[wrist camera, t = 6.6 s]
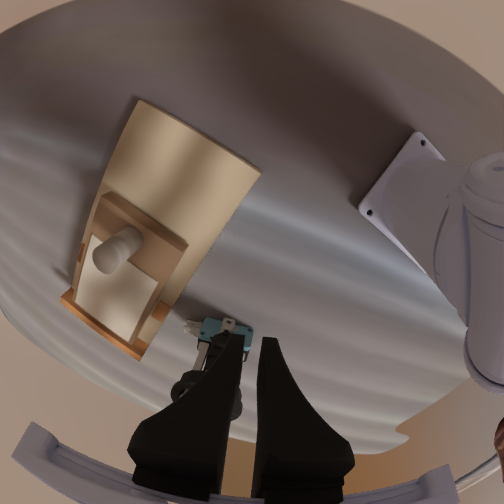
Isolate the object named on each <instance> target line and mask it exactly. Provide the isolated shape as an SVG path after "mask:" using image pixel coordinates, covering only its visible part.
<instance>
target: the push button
mask: <svg viewBox="0 0 504 504" xmlns="http://www.w3.org/2000/svg"><path fill="white" fill-rule="evenodd" d="M227 321H230V322H231V323H228V322H227ZM190 323H193V324H194V325H190ZM187 329H190V330H191V331H188V330H187ZM184 332H186V333H190V334H193V335H194V336H196V337H198V345H197V349H198V350H199V351H200V352H199V354H198V357H197V359H196V362H195V365H194V367H193V370H191V371H188V372H186V373H184V374H183V375H182V378H181V380H180V381H178V382H177V383H175V384H174V386H173V387H172V390H171V398H172V400H173V402H174V401H176V400H177V399H178V398H180V397H181V396H182V395H183V394H184V393H186V392H187V391H188V390H189V389H190V388H191V387H192V386H193V385H194V384H195V383H196V382H197V381H198V380H199V379H200V378H201V377H202V376H203V375H204V374H205V372H206V371H207V370H208V369H209V367H210V366H211V365H212V364H213V362H214V361H215V360H216V358H217V357H218V355H219V354H220V352H221V351H222V349H223V347H224V346H225V344H226V342H227V340H228V338H229V335H230V334H232V333H234V334H242V335H245V343H244V353H243V362H245V361H246V360H247V356H248V353H249V350H250V346H251V341H252V336H253V329H252V328H250V327H244V326H240V325H236V324H235V320H234V319H230V318H224V320H223V321H221V320H217V319H213V318H209V317H207V318H205V320H204V322H203V323H202V322H199V321H198V322H195V321H191V320H187V326H184ZM207 353H208V354H207ZM206 356H207V358H206ZM205 359H206V364H205V367H204V370H203V371H201V370H202V367H203V365H204V362H205ZM241 397H242V395H241V391H240V388H239V389H238V393H237V397H236V402H235V406H234V410H233V414H232V418H231V421H233V420H235V419H237V418H238V417H239V416H240V415H241V413H242V407H243V406H242V402H241Z"/></svg>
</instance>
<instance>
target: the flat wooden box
mask: <svg viewBox="0 0 504 504" xmlns="http://www.w3.org/2000/svg"><path fill="white" fill-rule="evenodd" d="M261 173H262V172H261V171H260V170H259V169H257V168H256V167H254V166H253V165H251V164H250V163H248V162H247V161H245V160H244V159H242V158H241V157H239V156H237V155H236V154H234V153H233V152H231V151H230V150H228V149H227V148H225V147H224V146H222V145H220V144H219V143H217V142H216V141H214V140H212V139H211V138H209V137H208V136H206V135H204V134H203V133H201V132H199V131H198V130H196V129H194V128H193V127H191V126H189V125H188V124H186V123H184V122H182V121H181V120H179V119H177V118H176V117H174V116H172V115H170V114H169V113H167V112H165V111H163V110H161V109H160V108H158V107H156V106H154V105H152V104H151V103H149V102H147V101H144V100H139V101H138V103H137V105H136V107H135V108H134V110H133V112H132V114H131V116H130V118H129V120H128V122H127V124H126V126H125V128H124V130H123V132H122V134H121V136H120V138H119V141H118V143H117V145H116V147H115V149H114V152H113V154H112V156H111V159H110V161H109V163H108V166H107V168H106V171H105V173H104V176H103V178H102V181H101V184H100V186H99V189H98V192H97V195H96V198H95V200H94V203H93V206H92V209H91V212H90V216H89V219H88V222H87V225H86V229H85V232H84V236H83V239H82V243H81V247H80V251H79V255H78V259H77V263H76V267H75V272H74V276H73V281H72V286H71V288H70V289H69V290H68V291H66V292H65V293H64V294H63V295H62V296H61V300H60V302H61V303H62V304H63V305H64V306H65V307H66V308H68V309H69V310H70V311H71V312H72V313H74V314H75V315H76V316H77V317H78V318H80V319H81V320H82V321H83V322H85V323H86V324H87V325H88V326H90V327H91V328H92V329H94V330H95V331H96V332H98V333H99V334H100V335H102V336H103V337H104V338H106V339H107V340H108V341H110V342H111V343H113V344H114V345H115V346H117V347H118V348H120V349H121V350H123V351H124V352H126V353H127V354H129V355H130V356H132V357H133V358H135V359H136V360H138V361H139V362H140V360H141V358H142V356H143V355H144V353H145V351H146V350H147V348H148V346H149V345H150V343H151V341H152V340H153V338H154V336H155V335H156V333H157V331H158V330H159V328H160V326H161V325H162V323H163V322H164V320H165V318H166V317H167V315H168V313H169V312H170V310H171V309H172V307H173V305H174V304H175V302H176V301H177V299H178V297H179V296H180V294H181V293H182V291H183V289H184V288H185V286H186V285H187V283H188V282H189V280H190V278H191V277H192V275H193V274H194V272H195V271H196V269H197V268H198V266H199V264H200V263H201V261H202V260H203V258H204V257H205V255H206V254H207V252H208V251H209V249H210V248H211V246H212V245H213V243H214V242H215V240H216V239H217V237H218V236H219V234H220V233H221V231H222V230H223V228H224V227H225V225H226V224H227V222H228V221H229V219H230V218H231V216H232V215H233V213H234V212H235V210H236V209H237V208H238V206H239V205H240V203H241V202H242V200H243V199H244V197H245V196H246V194H247V193H248V192H249V190H250V189H251V187H252V186H253V184H254V183H255V182H256V180H257V179H258V177H259V176H260V175H261ZM110 191H112V192H114V193H115V194H117V195H118V196H119V197H121V198H122V199H124V200H125V201H126V202H128V203H129V204H131V205H132V206H134V207H135V208H136V209H138V210H139V211H141V212H142V213H144V214H145V215H146V216H148V217H149V218H151V219H152V220H154V221H155V222H157V223H158V224H159V225H161V226H162V227H164V228H165V229H167V230H168V231H170V232H171V233H173V234H174V235H175V236H177V237H178V238H180V239H181V240H183V241H184V242H186V243H187V244H189V246H188V248H187V249H186V251H185V253H184V254H183V256H182V258H181V259H180V261H179V263H178V265H177V266H176V268H175V270H174V272H173V273H172V275H171V277H170V278H169V280H168V282H167V284H166V286H165V287H164V289H163V291H162V293H161V294H160V296H159V298H158V300H157V302H156V303H155V305H154V307H153V309H152V311H151V313H150V315H149V316H148V318H147V320H146V322H145V324H144V326H143V328H142V330H141V331H140V333H139V335H138V337H137V339H136V340H135V342H134V343H133V345H132V346H131V345H130V344H128V343H127V342H125V341H124V340H123V339H121V338H120V337H118V336H117V335H115V334H114V333H113V332H111V331H110V330H109V329H107V328H106V327H104V326H103V325H102V324H100V323H99V322H98V321H96V320H95V319H94V318H93V317H91V316H90V315H89V314H88V313H86V312H85V311H84V310H83V309H81V308H80V307H79V306H78V305H76V304H75V303H74V302H73V301H72V299H73V294H74V289H75V284H76V280H77V275H78V271H79V267H80V262H81V258H82V255H83V251H84V247H85V244H86V240H87V237H88V233H89V230H90V227H91V223H92V220H93V217H94V214H95V211H96V208H97V205H98V202H99V200H100V197H101V195H103V194H105V193H108V192H110Z"/></svg>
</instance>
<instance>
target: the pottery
mask: <svg viewBox="0 0 504 504" xmlns="http://www.w3.org/2000/svg"><path fill="white" fill-rule="evenodd" d="M494 445H495V449H496V452H497V454H498V457H499V460H500V464H501V469H502V477H503V483H504V418H503V419H502V420H501V421H500V423H499V425H498V428H497V430H496V433H495V438H494Z"/></svg>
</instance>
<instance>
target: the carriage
mask: <svg viewBox="0 0 504 504" xmlns="http://www.w3.org/2000/svg"><path fill="white" fill-rule="evenodd" d="M188 246H189V244H187V243H186V242H184V241H183V240H181V239H180V238H178V237H177V236H175V235H174V234H173V233H171V232H170V231H168V230H167V229H165V228H164V227H162V226H161V225H159V224H158V223H157V222H155V221H154V220H152V219H151V218H149V217H148V216H146V215H145V214H144V213H142V212H141V211H139V210H138V209H136V208H135V207H134V206H132V205H131V204H129V203H128V202H126V201H125V200H124V199H122V198H121V197H119V196H118V195H117V194H115V193H114V192H112V191H110V192H108V193H105V194H103V195H101V197H100V200H99V202H98V205H97V208H96V211H95V214H94V217H93V220H92V223H91V227H90V230H89V233H88V237H87V240H86V244H85V247H84V251H83V255H82V258H81V262H80V267H79V271H78V275H77V280H76V284H75V289H74V294H73V299H72V301H73V302H74V303H75V304H76V305H78V306H79V307H80V308H81V309H83V310H84V311H85V312H86V313H88V314H89V315H90V316H91V317H93V318H94V319H95V320H96V321H98V322H99V323H100V324H102V325H103V326H104V327H106V328H107V329H109V330H110V331H111V332H113V333H114V334H115V335H117V336H118V337H120V338H121V339H123V340H124V341H125V342H127V343H128V344H130V345H131V346H132V345H133V343H134V342H135V340H136V339H137V337H138V335H139V333H140V331H141V330H142V328H143V326H144V324H145V322H146V320H147V318H148V316H149V315H150V313H151V311H152V309H153V307H154V305H155V303H156V302H157V300H158V298H159V296H160V294H161V293H162V291H163V289H164V287H165V286H166V284H167V282H168V280H169V278H170V277H171V275H172V273H173V272H174V270H175V268H176V266H177V265H178V263H179V261H180V259H181V258H182V256H183V254H184V253H185V251H186V249H187V248H188Z"/></svg>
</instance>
